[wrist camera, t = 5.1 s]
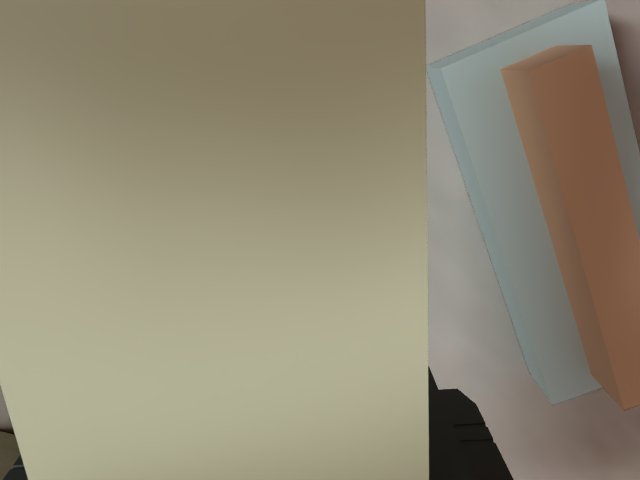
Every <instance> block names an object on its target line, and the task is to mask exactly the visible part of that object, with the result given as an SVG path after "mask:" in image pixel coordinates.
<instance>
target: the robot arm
mask: <svg viewBox="0 0 640 480" xmlns="http://www.w3.org/2000/svg"><path fill="white" fill-rule="evenodd" d="M428 408H429V480H513V478H512V476H511V474H510V472H509V470H508V468H507V466H506V464H505V462H504V460H503V458H502V455H501V453H500V451H499V449H498V447H497V445H496V443H494V442H493V437H492V435H491V433H490V431H489V429H488V427H486V425H485V421H484V419H483V417H482V415H481V413H480V411H479V409H478V407H477V405H476V404H475V403H474V402H473V401H471V400H470V399H469V398H468V397H467V396H465V395H464V394H463V393H462V392H461V391H459V390H458V389H444V390H438V388H437V385H436V383H435V380H434V378H433V375H432V373H431V371H430V368H429V366H428ZM3 480H28V478H27V474H26V471H25V467H24V464H23V460H22V457H21V454H20V456H19V457H18V459H17V460H16V461H15V463H14V464H13V469H10V470H9V471H8V473H7V474H6V476H5V477H4V478H3Z"/></svg>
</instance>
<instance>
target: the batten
mask: <svg viewBox="0 0 640 480" xmlns="http://www.w3.org/2000/svg"><path fill="white" fill-rule="evenodd" d="M0 385H1V388H2V392H3V395H4V399H5V402H6V405H7V409H8V412H9V416H10V419H11V423H12V426H13V429H14V433H15V436H16V440H17V443H18V447H19V450H20V453H21V457H22V460H23V464H24V467H25V471H26V474H27V478H28V480H429V408H428V275H427V143H426V11H425V0H0Z"/></svg>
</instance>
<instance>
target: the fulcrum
mask: <svg viewBox="0 0 640 480" xmlns="http://www.w3.org/2000/svg"><path fill="white" fill-rule="evenodd" d="M426 70H427V73H428V76H429V79H430V82H431V85H432V88H433V91H434V94H435V97H436V100H437V103H438V106H439V108H440V111H441V114H442V117H443V120H444V123H445V126H446V129H447V132H448V135H449V138H450V141H451V144H452V147H453V150H454V152H455V155H456V158H457V161H458V164H459V167H460V170H461V173H462V176H463V179H464V182H465V185H466V188H467V191H468V194H469V196H470V199H471V202H472V205H473V208H474V211H475V214H476V217H477V220H478V223H479V226H480V229H481V232H482V235H483V238H484V240H485V243H486V246H487V249H488V252H489V255H490V258H491V261H492V264H493V267H494V270H495V273H496V276H497V279H498V282H499V284H500V287H501V290H502V293H503V296H504V299H505V302H506V305H507V308H508V311H509V314H510V317H511V320H512V323H513V326H514V328H515V331H516V334H517V337H518V340H519V343H520V346H521V349H522V352H523V355H524V358H525V361H526V364H527V367H528V370H529V373H530V375H531V376H532V377H533V379H534V380H535V382H536V383H537V384H538V386H539V387H540V389H541V390H542V391H543V393H544V394H545V396H546V397H547V398H548V400H549V401H550V403H551V404H552V405H556V404H559V403H562V402H564V401H567V400H570V399H573V398H575V397H578V396H581V395H584V394H586V393H589V392H592V391H595V390H597V389H600V388H604V389H605V390H606V391H607V392H608V393H609V395H610V396H611V397H612V398H613V399H614V400H615V401H616V402H617V403H618V405H619V406H620V407H621V408H622V409H623V410H624V411H625V410H627V409H630V408H633V407H636V406H639V405H640V152H639V148H638V143H637V139H636V135H635V130H634V126H633V121H632V117H631V113H630V108H629V104H628V100H627V95H626V91H625V87H624V82H623V78H622V74H621V69H620V65H619V60H618V56H617V52H616V47H615V43H614V39H613V34H612V30H611V26H610V21H609V17H608V12H607V8H606V4H605V0H590V1H584V2H579V3H573V4H569V5H567V6H564V7H562V8H560V9H558V10H555V11H553V12H551V13H548V14H546V15H544V16H541V17H539V18H537V19H534V20H532V21H530V22H527V23H525V24H523V25H521V26H518V27H516V28H514V29H511V30H509V31H507V32H504V33H502V34H500V35H497V36H495V37H493V38H490V39H488V40H486V41H484V42H481V43H479V44H477V45H474V46H472V47H470V48H467V49H465V50H463V51H460V52H458V53H456V54H453V55H451V56H449V57H447V58H444V59H442V60H440V61H437V62H435V63H433V64H430V65H428V66H426Z"/></svg>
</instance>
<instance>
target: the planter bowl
mask: <svg viewBox="0 0 640 480" xmlns="http://www.w3.org/2000/svg"><path fill="white" fill-rule="evenodd" d="M20 454H21V453H20V450H19V447H18V443H17V440H16V436H15V435H13V434H9V433H5V432H0V480H3V478H4V477H5V476H6V474H7V473H8V471H9V470H10V469H13V464H14V463H15V461H16V460H17V459H18V457H19V456H20Z"/></svg>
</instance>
